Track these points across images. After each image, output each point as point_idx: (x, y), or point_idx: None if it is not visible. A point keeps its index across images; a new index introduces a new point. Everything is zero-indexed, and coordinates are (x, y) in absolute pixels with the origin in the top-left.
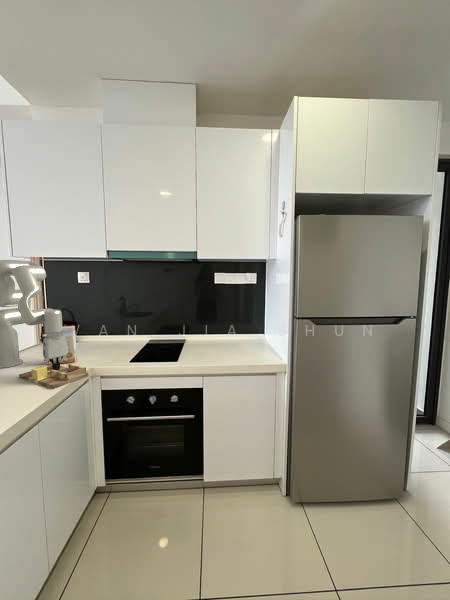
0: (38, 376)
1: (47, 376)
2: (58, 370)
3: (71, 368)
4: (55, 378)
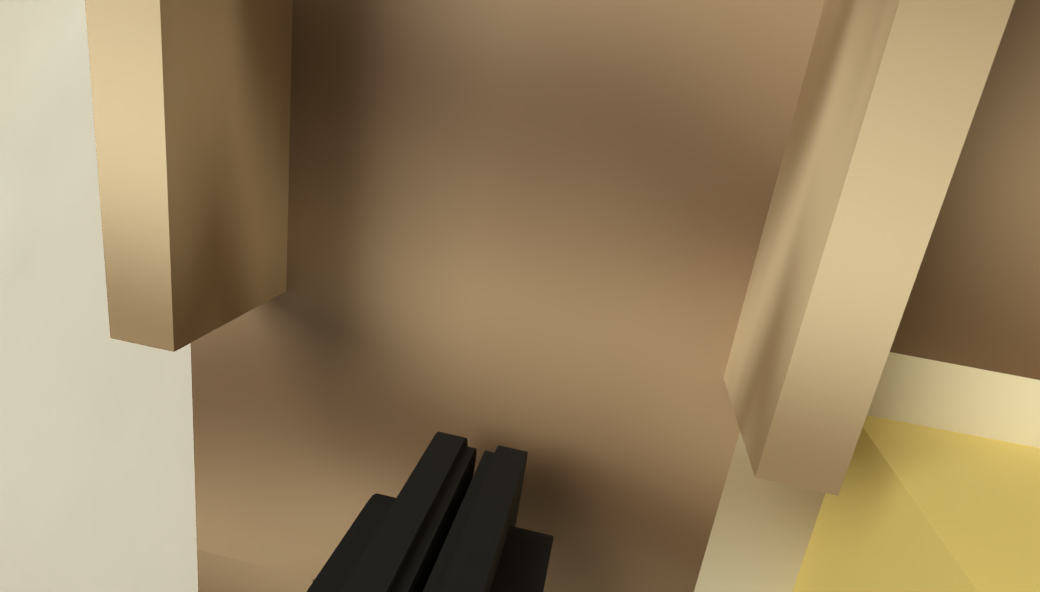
0: None
1: None
2: None
3: (245, 149)
4: None
